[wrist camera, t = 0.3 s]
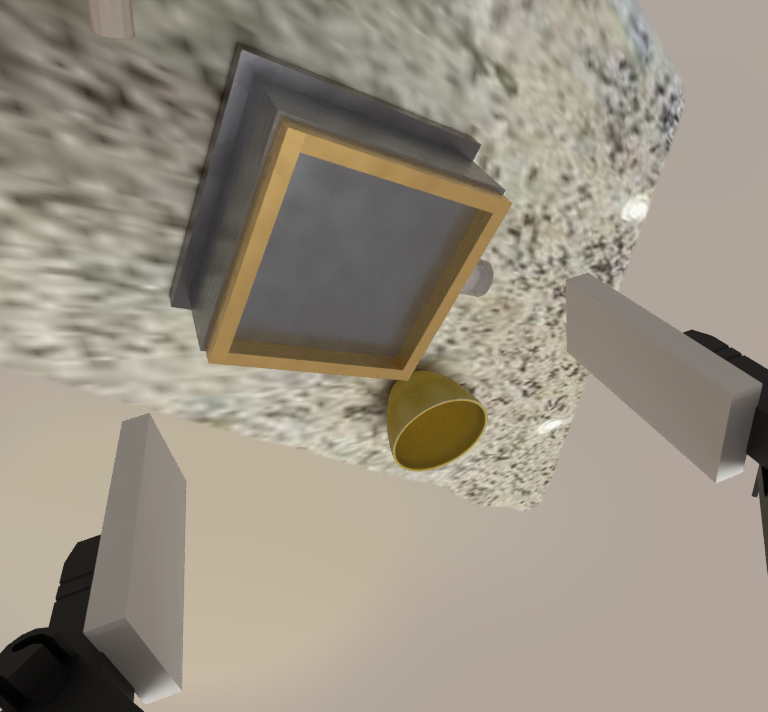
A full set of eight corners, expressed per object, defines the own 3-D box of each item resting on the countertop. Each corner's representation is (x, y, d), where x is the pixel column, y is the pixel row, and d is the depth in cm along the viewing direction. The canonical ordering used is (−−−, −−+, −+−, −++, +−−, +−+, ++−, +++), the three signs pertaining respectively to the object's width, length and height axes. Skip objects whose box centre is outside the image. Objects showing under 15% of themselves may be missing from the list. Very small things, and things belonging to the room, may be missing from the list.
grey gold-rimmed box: (237, 42, 33) (271, 93, 27) (510, 152, 44) (577, 205, 38) (169, 294, 42) (183, 376, 36) (410, 330, 54) (452, 396, 47)
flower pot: (413, 336, 54) (445, 387, 49) (473, 368, 61) (506, 415, 56) (348, 406, 58) (372, 460, 53) (411, 429, 64) (438, 479, 59)
